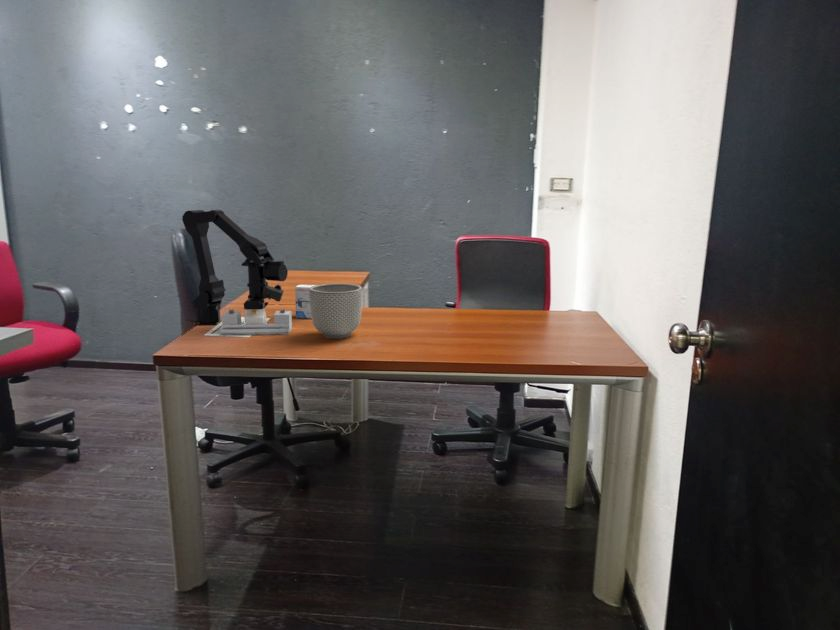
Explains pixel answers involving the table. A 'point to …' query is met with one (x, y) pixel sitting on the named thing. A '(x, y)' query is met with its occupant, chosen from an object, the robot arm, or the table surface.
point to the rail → (255, 329)
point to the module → (255, 316)
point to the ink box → (302, 301)
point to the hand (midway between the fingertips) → (259, 324)
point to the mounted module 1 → (231, 317)
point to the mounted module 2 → (283, 317)
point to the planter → (336, 308)
